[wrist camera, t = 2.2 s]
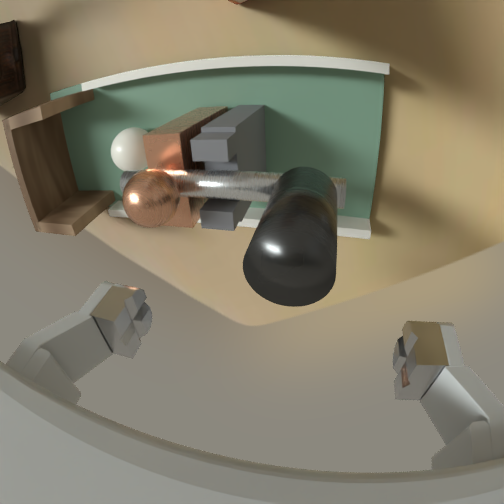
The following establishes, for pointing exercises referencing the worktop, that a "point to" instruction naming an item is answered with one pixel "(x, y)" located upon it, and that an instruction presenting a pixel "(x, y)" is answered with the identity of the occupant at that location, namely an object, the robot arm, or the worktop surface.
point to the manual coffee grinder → (10, 63)
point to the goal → (51, 168)
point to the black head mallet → (249, 189)
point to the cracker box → (237, 1)
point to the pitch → (242, 125)
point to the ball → (129, 149)
